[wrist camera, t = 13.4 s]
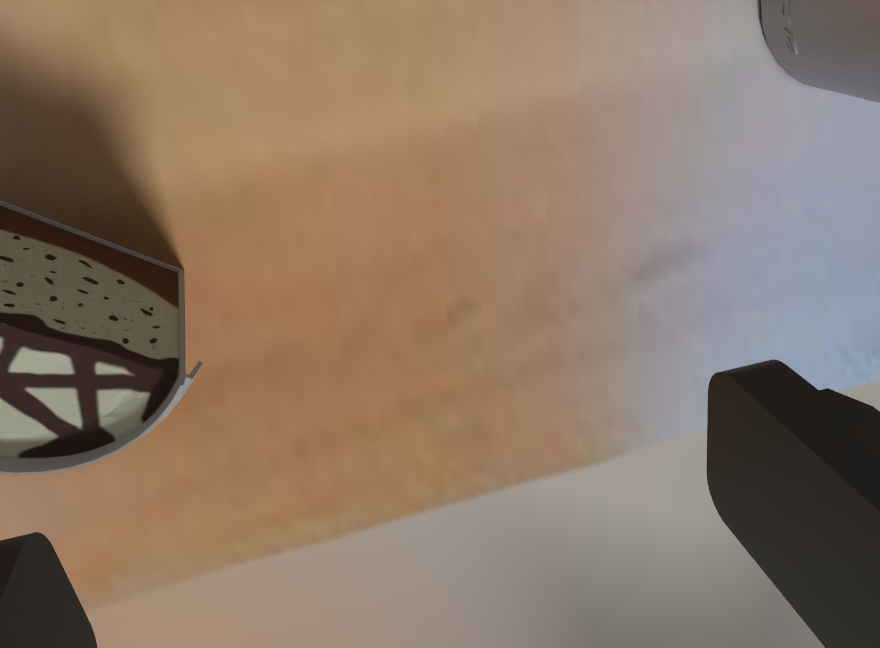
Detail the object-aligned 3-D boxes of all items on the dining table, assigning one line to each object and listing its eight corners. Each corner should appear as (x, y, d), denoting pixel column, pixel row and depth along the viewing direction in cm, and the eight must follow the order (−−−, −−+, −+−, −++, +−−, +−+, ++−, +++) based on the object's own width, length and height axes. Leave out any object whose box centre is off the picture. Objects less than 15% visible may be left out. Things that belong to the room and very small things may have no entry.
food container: (-121, 298, 33) (-266, 424, 24) (-83, 168, 31) (-225, 252, 22) (168, 391, 37) (136, 527, 28) (216, 282, 35) (198, 390, 26)
